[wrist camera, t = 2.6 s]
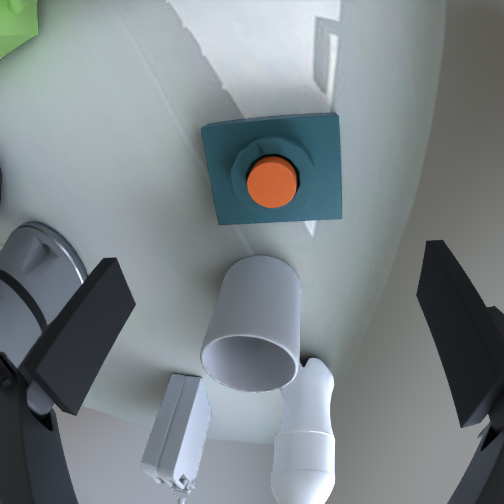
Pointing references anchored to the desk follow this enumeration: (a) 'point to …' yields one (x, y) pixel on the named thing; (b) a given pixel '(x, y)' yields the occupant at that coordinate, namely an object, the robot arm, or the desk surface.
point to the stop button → (272, 182)
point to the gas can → (178, 435)
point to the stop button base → (279, 145)
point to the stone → (0, 183)
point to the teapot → (17, 23)
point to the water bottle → (305, 438)
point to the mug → (255, 327)
